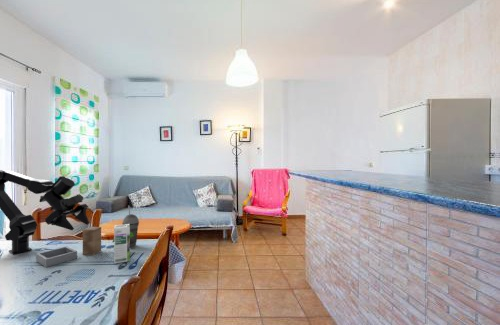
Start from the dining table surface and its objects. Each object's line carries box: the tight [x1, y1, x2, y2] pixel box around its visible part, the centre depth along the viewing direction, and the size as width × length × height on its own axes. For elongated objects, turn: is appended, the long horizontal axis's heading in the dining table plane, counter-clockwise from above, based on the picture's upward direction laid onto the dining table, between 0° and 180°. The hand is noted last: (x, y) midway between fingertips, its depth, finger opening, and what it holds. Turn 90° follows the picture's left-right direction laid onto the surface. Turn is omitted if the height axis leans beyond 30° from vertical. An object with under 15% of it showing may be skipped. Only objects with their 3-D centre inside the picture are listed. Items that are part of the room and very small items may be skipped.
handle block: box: [82, 226, 102, 256], centre depth 109 cm, size 5×5×11 cm
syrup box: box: [113, 224, 131, 265], centre depth 101 cm, size 6×6×14 cm
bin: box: [35, 245, 78, 268], centre depth 102 cm, size 11×11×3 cm
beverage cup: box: [121, 205, 140, 249], centre depth 117 cm, size 7×7×20 cm
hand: (80, 226), depth 109 cm, fingers open, 9 cm apart
